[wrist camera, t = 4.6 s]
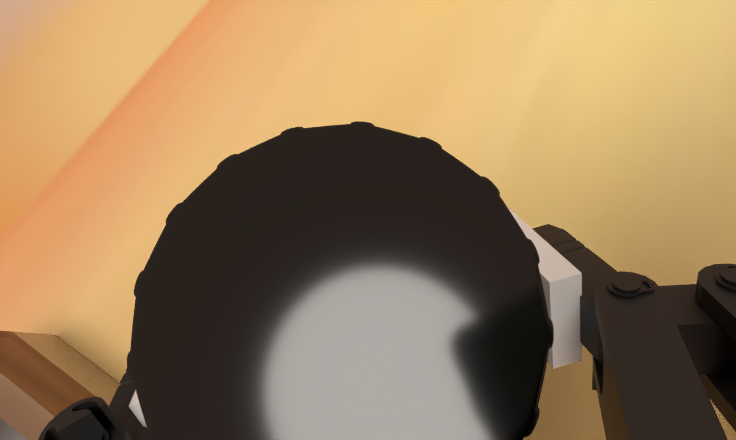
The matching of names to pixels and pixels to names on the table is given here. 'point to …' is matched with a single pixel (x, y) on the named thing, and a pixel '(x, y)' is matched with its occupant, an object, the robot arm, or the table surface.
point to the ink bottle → (341, 299)
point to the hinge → (3, 436)
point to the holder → (32, 387)
